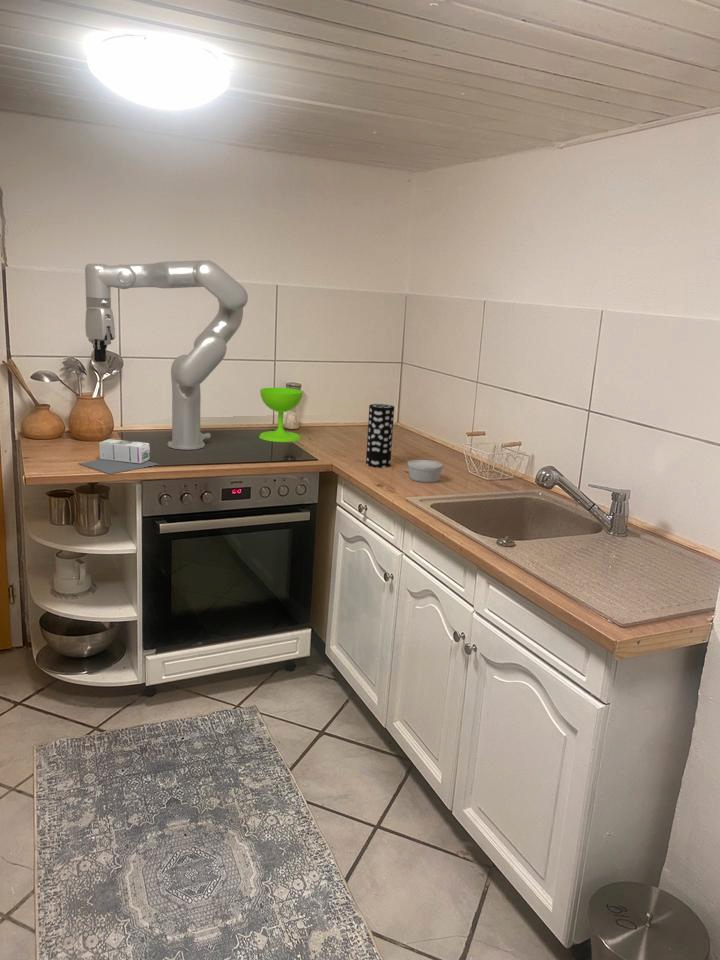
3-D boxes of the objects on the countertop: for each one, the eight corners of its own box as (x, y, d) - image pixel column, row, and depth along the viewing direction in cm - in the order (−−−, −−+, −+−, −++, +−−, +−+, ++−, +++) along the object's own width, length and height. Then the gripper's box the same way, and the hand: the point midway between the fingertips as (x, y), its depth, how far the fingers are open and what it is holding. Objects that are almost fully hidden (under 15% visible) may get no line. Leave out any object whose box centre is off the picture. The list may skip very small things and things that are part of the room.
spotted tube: (373, 468, 247) (376, 408, 242) (361, 462, 254) (364, 404, 249) (394, 467, 250) (399, 407, 245) (382, 461, 258) (386, 403, 253)
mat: (128, 455, 243) (128, 455, 243) (159, 465, 234) (159, 464, 234) (78, 464, 229) (78, 463, 229) (109, 474, 220) (109, 473, 220)
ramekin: (419, 473, 245) (420, 457, 243) (448, 480, 238) (449, 464, 236) (399, 478, 236) (400, 462, 235) (428, 486, 229) (429, 469, 228)
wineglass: (250, 435, 287) (251, 388, 282) (284, 432, 297) (285, 386, 293) (275, 443, 275) (277, 394, 271) (309, 439, 286) (311, 392, 281)
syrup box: (99, 459, 235) (141, 465, 232) (98, 441, 234) (140, 446, 231) (109, 455, 241) (150, 460, 238) (108, 437, 239) (150, 442, 236)
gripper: (122, 305, 238) (123, 363, 243) (95, 302, 247) (96, 358, 251) (102, 305, 232) (103, 364, 237) (74, 302, 241) (76, 359, 245)
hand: (100, 361), depth 244 cm, fingers closed
